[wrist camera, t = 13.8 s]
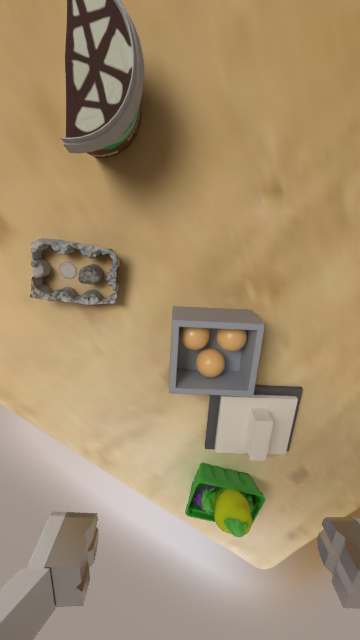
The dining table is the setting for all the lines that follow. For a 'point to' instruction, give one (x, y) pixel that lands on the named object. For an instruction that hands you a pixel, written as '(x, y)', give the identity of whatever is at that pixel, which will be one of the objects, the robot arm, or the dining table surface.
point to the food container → (102, 78)
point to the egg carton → (71, 273)
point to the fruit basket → (225, 499)
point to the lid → (255, 425)
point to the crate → (214, 351)
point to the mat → (258, 390)
